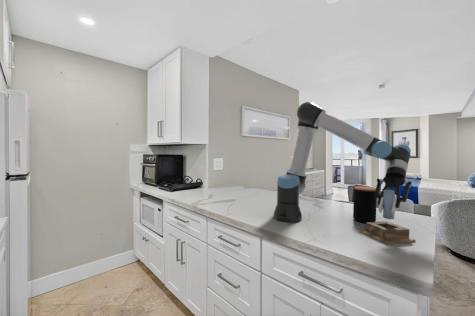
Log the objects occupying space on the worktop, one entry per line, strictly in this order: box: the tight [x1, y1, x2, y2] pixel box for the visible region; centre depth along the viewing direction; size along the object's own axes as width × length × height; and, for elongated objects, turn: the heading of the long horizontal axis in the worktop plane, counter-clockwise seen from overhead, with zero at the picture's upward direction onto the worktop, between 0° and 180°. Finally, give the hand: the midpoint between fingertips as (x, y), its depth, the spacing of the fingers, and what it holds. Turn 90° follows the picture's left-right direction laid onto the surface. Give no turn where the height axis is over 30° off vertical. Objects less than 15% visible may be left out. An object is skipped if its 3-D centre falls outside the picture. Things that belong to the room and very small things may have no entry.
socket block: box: [360, 220, 416, 245], centre depth 97 cm, size 14×14×5 cm
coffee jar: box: [352, 185, 378, 224], centre depth 119 cm, size 11×11×18 cm
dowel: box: [382, 189, 396, 220], centre depth 96 cm, size 4×4×12 cm
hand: (386, 212), depth 94 cm, fingers closed on dowel, 4 cm apart
